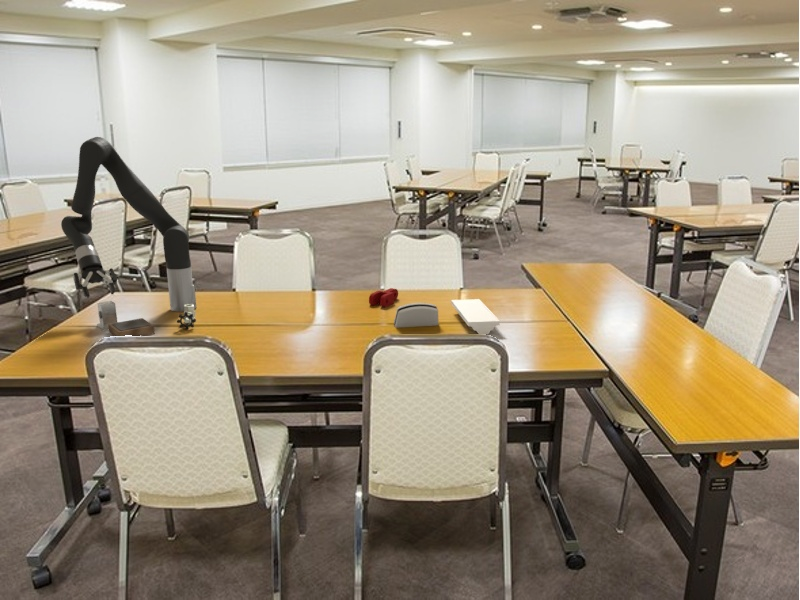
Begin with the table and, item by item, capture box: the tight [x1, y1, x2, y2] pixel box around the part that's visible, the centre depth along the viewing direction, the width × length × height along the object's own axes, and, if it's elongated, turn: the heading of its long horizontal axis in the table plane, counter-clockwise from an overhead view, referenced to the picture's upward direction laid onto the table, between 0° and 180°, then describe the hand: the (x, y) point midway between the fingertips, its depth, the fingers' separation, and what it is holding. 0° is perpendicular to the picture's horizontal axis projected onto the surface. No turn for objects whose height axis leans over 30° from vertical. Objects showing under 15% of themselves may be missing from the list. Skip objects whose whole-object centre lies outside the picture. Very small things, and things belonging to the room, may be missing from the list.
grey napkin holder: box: [393, 302, 440, 329], centre depth 238 cm, size 17×5×10 cm, turn 101°
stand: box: [108, 317, 155, 337], centre depth 228 cm, size 12×12×3 cm
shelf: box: [450, 298, 501, 335], centre depth 242 cm, size 12×30×5 cm, turn 7°
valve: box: [176, 304, 197, 331], centre depth 238 cm, size 7×7×12 cm
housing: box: [96, 300, 119, 331], centre depth 235 cm, size 6×6×9 cm
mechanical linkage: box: [368, 287, 399, 308], centre depth 269 cm, size 16×7×5 cm, turn 150°
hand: (100, 295), depth 238 cm, fingers open, 8 cm apart
